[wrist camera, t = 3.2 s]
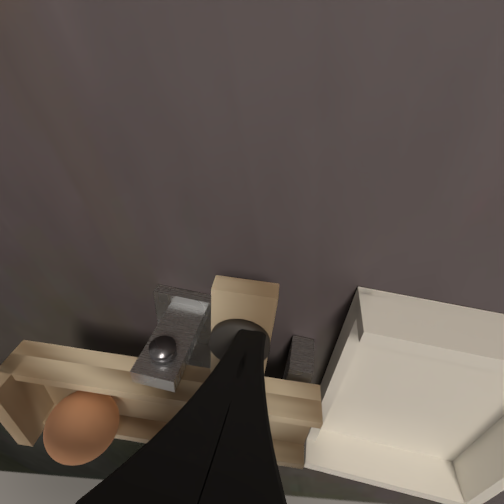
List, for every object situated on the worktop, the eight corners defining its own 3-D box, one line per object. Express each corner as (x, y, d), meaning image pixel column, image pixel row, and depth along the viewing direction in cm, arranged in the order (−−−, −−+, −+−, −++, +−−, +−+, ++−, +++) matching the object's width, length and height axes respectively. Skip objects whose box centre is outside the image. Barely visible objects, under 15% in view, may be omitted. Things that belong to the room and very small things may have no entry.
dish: (305, 423, 22) (303, 466, 20) (358, 286, 14) (363, 331, 12) (455, 460, 21) (471, 510, 19) (600, 332, 13) (657, 391, 11)
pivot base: (169, 372, 22) (134, 446, 18) (158, 283, 17) (105, 358, 13) (294, 402, 21) (287, 488, 17) (321, 316, 16) (320, 409, 12)
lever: (52, 393, 18) (18, 444, 16) (-31, 241, 12) (-108, 288, 10) (301, 433, 18) (303, 491, 15) (354, 293, 11) (369, 359, 9)
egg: (39, 458, 15) (91, 489, 14) (14, 427, 13) (73, 460, 12) (90, 399, 17) (137, 423, 16) (76, 366, 15) (128, 391, 15)
